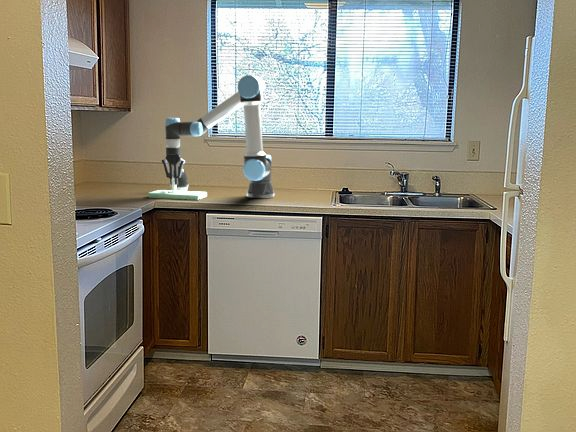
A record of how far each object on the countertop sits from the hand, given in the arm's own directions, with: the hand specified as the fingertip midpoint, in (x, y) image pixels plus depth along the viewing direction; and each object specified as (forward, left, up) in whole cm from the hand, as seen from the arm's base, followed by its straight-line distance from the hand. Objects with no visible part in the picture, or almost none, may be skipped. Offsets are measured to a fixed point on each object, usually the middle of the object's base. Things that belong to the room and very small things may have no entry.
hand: (174, 190), depth 320 cm
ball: (+5, 0, -2) cm, 6 cm away
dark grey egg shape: (+4, -17, -4) cm, 18 cm away
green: (-2, 0, -3) cm, 4 cm away
